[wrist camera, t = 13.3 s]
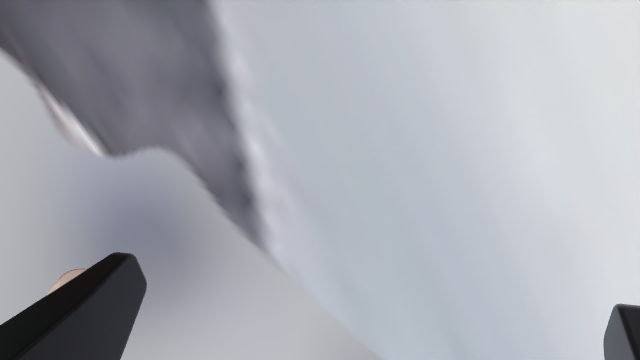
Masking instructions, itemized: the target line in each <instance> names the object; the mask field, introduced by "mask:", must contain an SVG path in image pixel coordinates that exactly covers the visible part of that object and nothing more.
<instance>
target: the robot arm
mask: <svg viewBox="0 0 640 360" xmlns="http://www.w3.org/2000/svg"><path fill="white" fill-rule="evenodd" d="M146 285H147V283H146V279H145V276H144V274H143V272H142V270H141V267H140V265H139V263H138V261H137V259H136V257H135V256H134V255H133V254H130V253H120V252H116V253H113V254H110V255H109V256H107V257H106V258H104V259H103V260H101V261H100V262H98V263H96V264H95V265H93V266H92V267H90V268H89V269H87V270H85V271H84V272H82V273H81V274H79V275H78V276H76V277H75V278H73V279H71V280H70V281H68V282H67V283H65V284H64V285H62V286H61V287H59V288H58V289H56V290H54V291H53V292H51V293H50V294H48V295H47V296H45V297H44V298H42V299H41V300H39V301H37V302H36V303H34V304H33V305H31V306H30V307H28V308H27V309H25V310H23V311H22V312H20V313H19V314H17V315H16V316H14V317H12V318H11V319H9V320H8V321H6V322H5V323H3V324H2V325H0V360H120V359H121V356H122V354H123V351H124V349H125V346H126V344H127V341H128V338H129V335H130V333H131V330H132V327H133V325H134V322H135V319H136V317H137V314H138V311H139V309H140V306H141V303H142V301H143V298H144V295H145V292H146ZM604 357H605V360H640V306H637V305H627V304H617V305H615V306H614V308H613V310H612V313H611V316H610V319H609V322H608V325H607V328H606V331H605V335H604Z"/></svg>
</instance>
